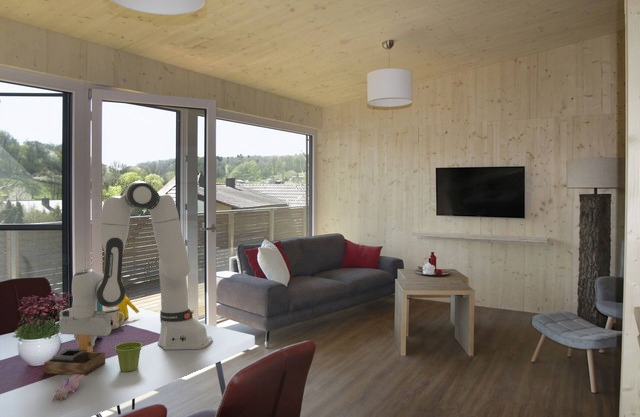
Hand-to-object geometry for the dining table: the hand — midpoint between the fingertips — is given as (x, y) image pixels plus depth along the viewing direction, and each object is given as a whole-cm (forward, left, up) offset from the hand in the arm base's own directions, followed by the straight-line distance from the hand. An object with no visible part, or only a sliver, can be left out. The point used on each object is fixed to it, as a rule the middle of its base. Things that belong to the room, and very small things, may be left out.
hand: (85, 345), depth 189 cm
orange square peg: (0, 0, -4) cm, 4 cm away
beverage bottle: (+9, -20, -4) cm, 22 cm away
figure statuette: (+15, -50, -4) cm, 52 cm away
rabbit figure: (-15, +31, -4) cm, 35 cm away
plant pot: (-24, +10, -4) cm, 26 cm away
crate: (-4, +12, -4) cm, 13 cm away
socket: (-2, +12, -4) cm, 13 cm away
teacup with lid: (+11, -36, -4) cm, 38 cm away
